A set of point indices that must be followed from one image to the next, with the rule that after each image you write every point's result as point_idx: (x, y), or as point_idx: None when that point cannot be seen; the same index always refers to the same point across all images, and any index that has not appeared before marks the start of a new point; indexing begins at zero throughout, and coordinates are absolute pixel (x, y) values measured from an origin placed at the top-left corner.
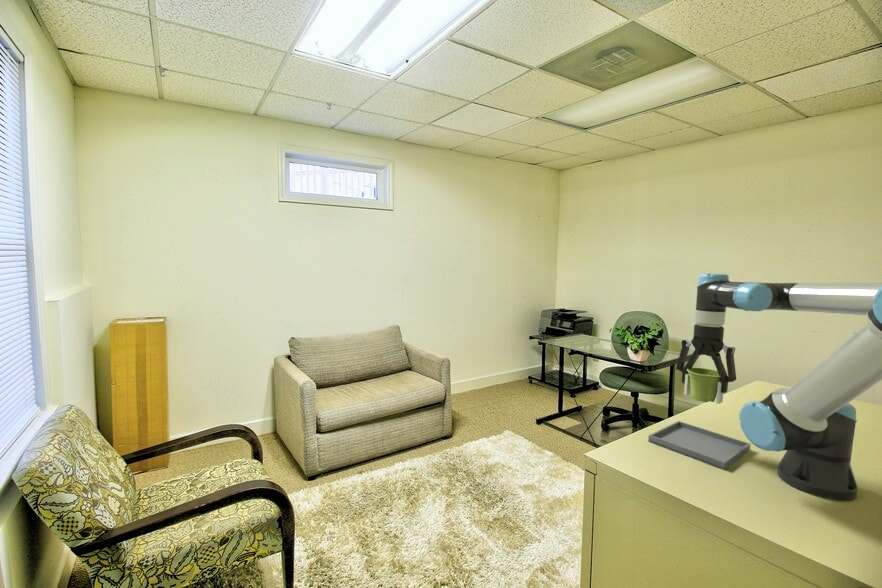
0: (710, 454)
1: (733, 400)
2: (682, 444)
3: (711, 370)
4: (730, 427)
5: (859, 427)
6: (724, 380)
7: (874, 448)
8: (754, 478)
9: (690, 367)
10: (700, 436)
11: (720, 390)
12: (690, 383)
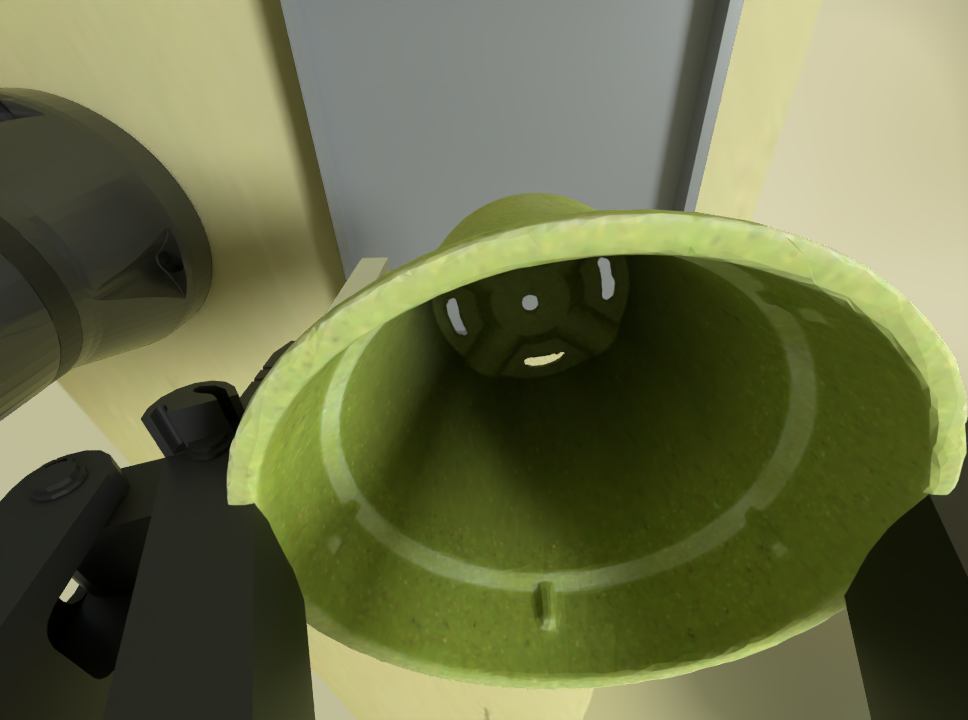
0: (415, 95)
1: None
2: (562, 89)
3: (545, 668)
4: None
5: (331, 663)
6: (187, 443)
7: None
8: (172, 15)
9: (892, 574)
10: None
11: None
12: (702, 287)
